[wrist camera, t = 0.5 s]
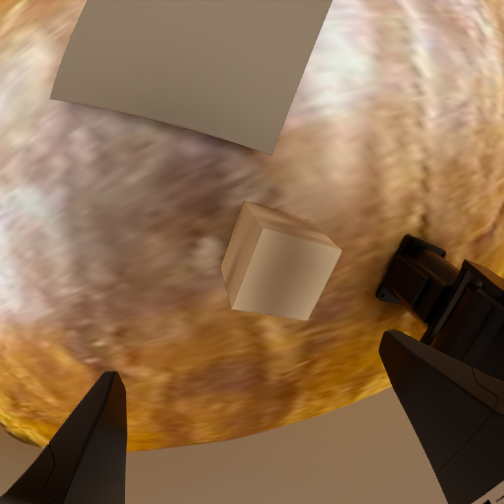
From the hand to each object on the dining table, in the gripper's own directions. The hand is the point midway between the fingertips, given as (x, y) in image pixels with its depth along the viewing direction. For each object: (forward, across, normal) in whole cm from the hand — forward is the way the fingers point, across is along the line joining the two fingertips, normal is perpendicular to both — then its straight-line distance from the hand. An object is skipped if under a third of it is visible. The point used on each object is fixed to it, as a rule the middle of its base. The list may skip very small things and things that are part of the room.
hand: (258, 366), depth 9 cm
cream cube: (+12, -3, +2) cm, 13 cm away
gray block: (+12, +1, -13) cm, 18 cm away
